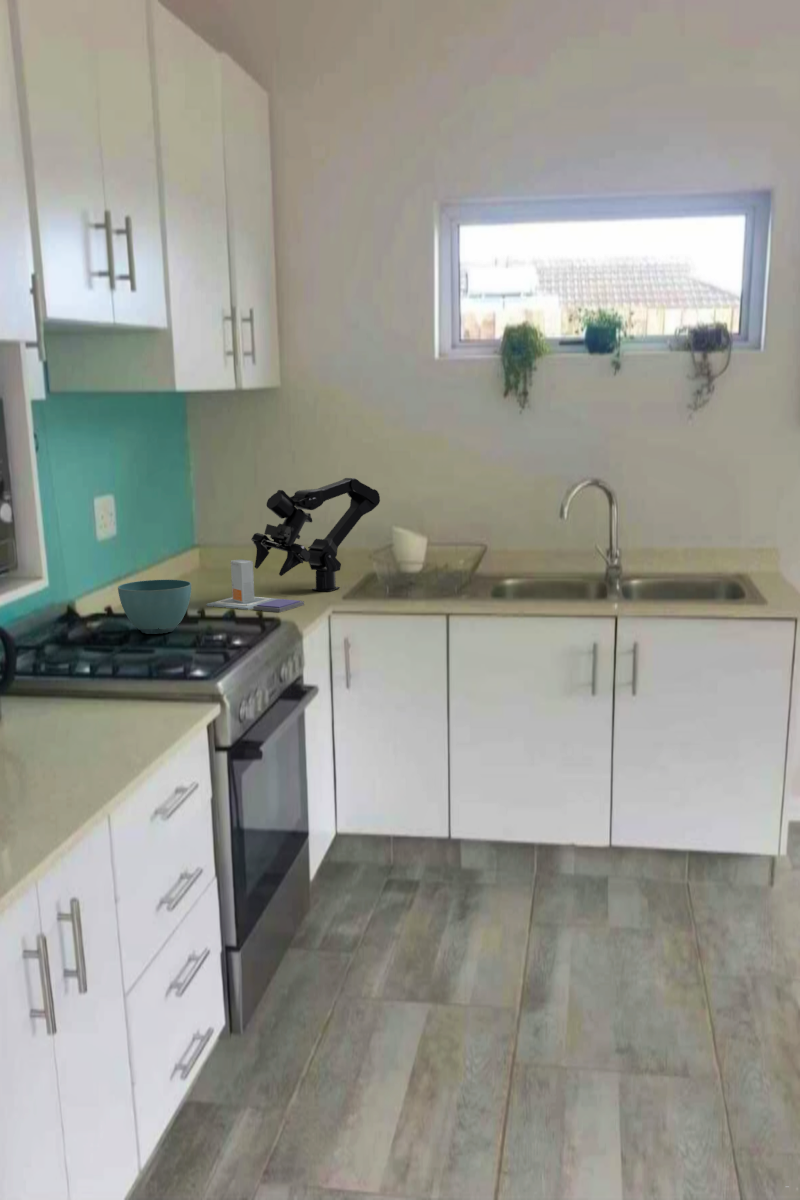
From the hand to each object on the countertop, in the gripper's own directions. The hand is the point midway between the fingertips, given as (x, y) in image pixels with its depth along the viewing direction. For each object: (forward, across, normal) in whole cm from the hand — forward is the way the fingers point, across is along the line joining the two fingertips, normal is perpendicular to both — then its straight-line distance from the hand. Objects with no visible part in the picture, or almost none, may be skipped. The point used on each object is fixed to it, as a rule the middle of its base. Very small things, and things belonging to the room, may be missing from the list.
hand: (267, 571), depth 306 cm
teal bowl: (+36, +4, -34) cm, 49 cm away
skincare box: (+11, -2, -1) cm, 12 cm away
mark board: (+12, -2, -1) cm, 12 cm away
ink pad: (+10, +12, -2) cm, 15 cm away
